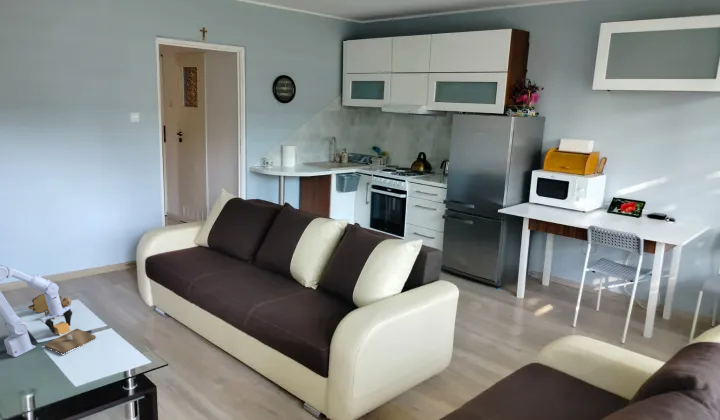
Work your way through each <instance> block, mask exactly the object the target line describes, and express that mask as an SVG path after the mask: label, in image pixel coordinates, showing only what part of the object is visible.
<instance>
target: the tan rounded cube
mask: <svg viewBox="0 0 720 420" xmlns="http://www.w3.org/2000/svg"><path fill="white" fill-rule="evenodd" d="M54 329H55V333H57V334H59V335H58V336H61V335H60V334H62V333H64V334H66V333H69V332H71V329H70V326H69V325H68V323H66V321H60V322H58V323H56V324H54ZM65 332H66V333H65ZM55 333H54V334H55ZM57 334H56V335H57ZM62 335H63V334H62Z"/></svg>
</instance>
